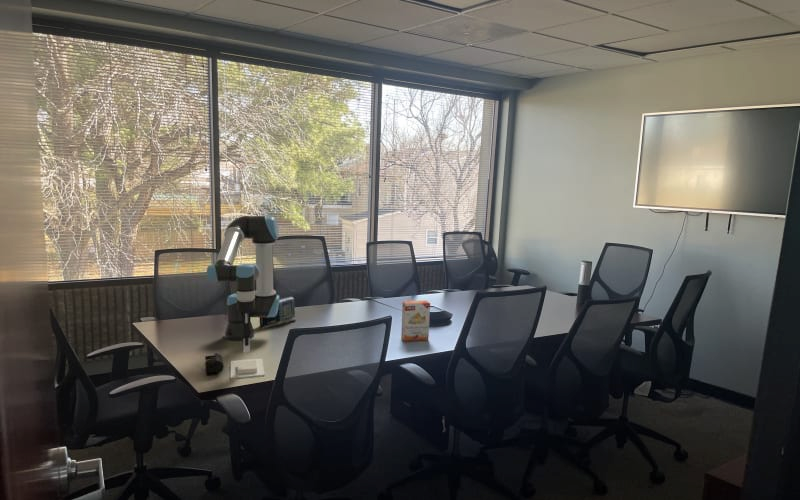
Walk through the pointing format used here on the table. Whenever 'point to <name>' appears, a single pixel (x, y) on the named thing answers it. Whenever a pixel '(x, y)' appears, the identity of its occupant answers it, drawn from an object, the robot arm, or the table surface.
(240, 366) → the tile
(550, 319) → the table surface
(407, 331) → the cracker box
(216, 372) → the end cap
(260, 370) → the mat
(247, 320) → the robot arm
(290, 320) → the radio
